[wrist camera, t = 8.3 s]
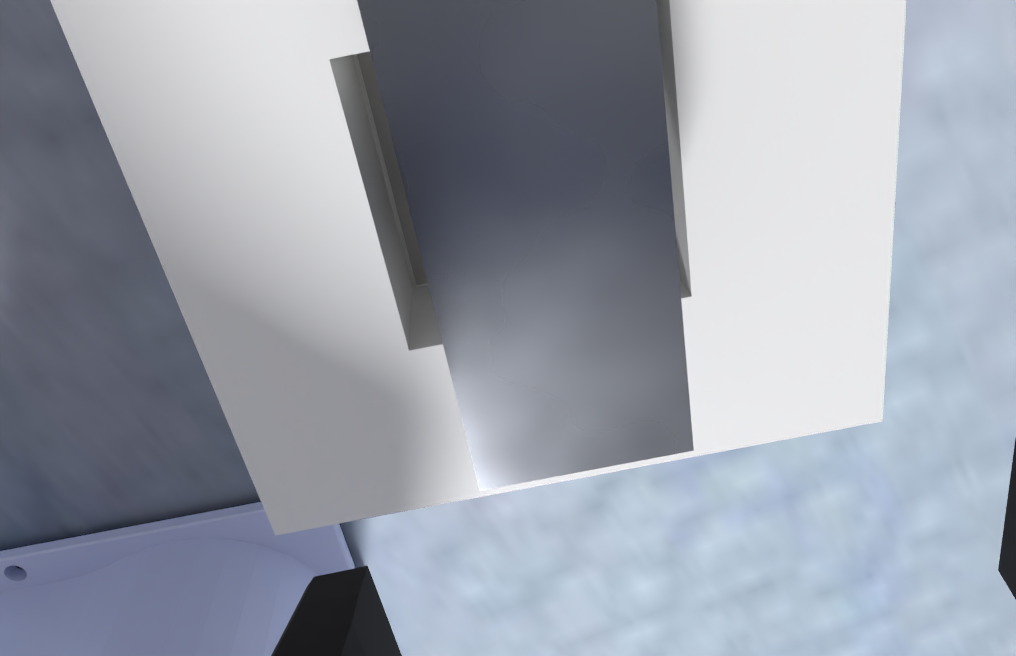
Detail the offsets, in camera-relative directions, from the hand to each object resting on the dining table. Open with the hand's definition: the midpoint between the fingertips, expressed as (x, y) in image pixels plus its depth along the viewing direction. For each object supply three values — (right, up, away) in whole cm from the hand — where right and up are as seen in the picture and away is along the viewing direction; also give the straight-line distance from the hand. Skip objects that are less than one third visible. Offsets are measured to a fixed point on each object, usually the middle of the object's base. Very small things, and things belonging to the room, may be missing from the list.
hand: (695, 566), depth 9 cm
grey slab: (-2, +7, +6) cm, 9 cm away
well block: (-2, +7, +7) cm, 10 cm away
